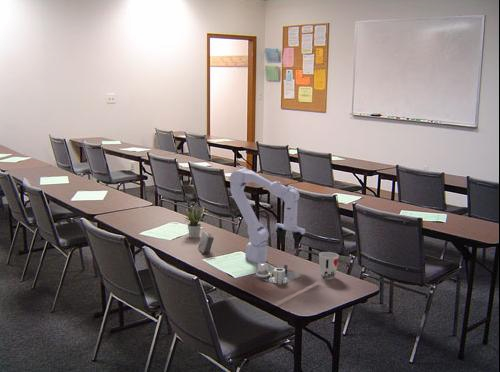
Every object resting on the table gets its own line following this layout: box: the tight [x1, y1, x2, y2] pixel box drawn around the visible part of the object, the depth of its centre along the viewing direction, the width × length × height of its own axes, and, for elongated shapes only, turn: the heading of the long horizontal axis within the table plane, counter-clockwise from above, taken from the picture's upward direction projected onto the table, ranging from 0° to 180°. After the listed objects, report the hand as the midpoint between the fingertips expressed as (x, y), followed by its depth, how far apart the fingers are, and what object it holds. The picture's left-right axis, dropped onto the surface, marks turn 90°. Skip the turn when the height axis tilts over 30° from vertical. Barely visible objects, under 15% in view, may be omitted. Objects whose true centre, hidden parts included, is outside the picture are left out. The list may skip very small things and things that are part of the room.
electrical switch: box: [197, 230, 215, 255], centre depth 253 cm, size 9×5×9 cm, turn 18°
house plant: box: [183, 206, 209, 238], centre depth 277 cm, size 14×14×16 cm
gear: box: [271, 267, 288, 285], centre depth 213 cm, size 6×6×5 cm
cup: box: [318, 251, 339, 280], centre depth 222 cm, size 8×8×10 cm
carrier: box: [252, 264, 303, 286], centre depth 219 cm, size 15×15×4 cm
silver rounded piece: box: [255, 262, 270, 279], centre depth 219 cm, size 6×6×5 cm
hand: (289, 246), depth 231 cm, fingers open, 7 cm apart
